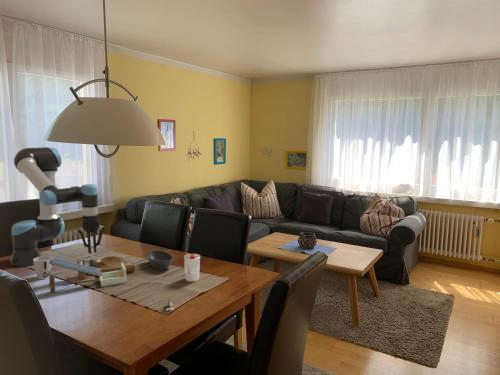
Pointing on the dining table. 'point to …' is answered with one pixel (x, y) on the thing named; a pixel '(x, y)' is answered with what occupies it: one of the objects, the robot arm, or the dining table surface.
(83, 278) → the stand
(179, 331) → the dining table surface
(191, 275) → the white can
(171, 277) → the dining table surface
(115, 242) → the dining table surface
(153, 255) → the bowl
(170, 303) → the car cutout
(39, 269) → the cup
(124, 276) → the box
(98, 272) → the lever
